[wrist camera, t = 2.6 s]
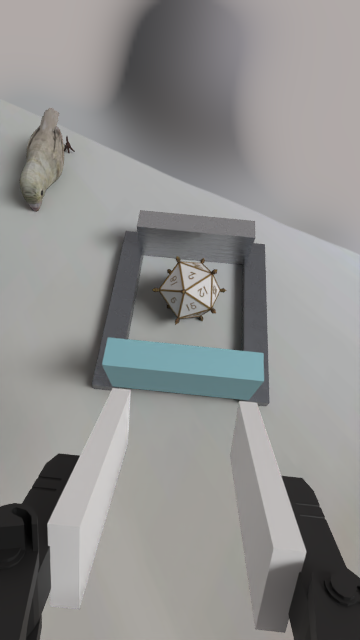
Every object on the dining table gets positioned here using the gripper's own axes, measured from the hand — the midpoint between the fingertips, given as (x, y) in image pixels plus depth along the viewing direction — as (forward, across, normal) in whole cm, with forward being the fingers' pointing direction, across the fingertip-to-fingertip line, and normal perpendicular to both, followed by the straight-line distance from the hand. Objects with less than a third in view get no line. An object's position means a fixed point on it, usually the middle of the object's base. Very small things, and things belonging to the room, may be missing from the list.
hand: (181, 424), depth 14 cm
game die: (+34, 0, -4) cm, 34 cm away
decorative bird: (+50, -26, +12) cm, 57 cm away
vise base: (+33, 0, -4) cm, 33 cm away
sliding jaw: (+24, 0, -10) cm, 26 cm away
